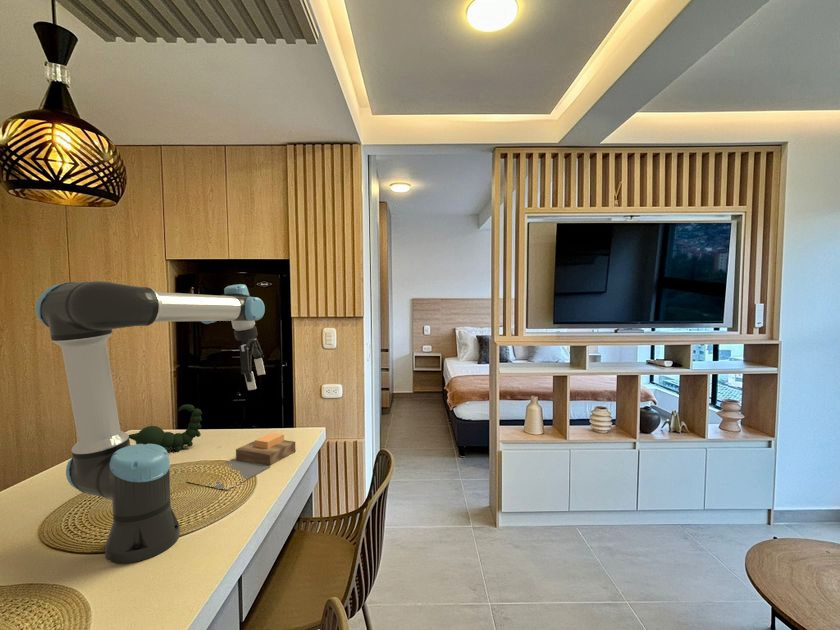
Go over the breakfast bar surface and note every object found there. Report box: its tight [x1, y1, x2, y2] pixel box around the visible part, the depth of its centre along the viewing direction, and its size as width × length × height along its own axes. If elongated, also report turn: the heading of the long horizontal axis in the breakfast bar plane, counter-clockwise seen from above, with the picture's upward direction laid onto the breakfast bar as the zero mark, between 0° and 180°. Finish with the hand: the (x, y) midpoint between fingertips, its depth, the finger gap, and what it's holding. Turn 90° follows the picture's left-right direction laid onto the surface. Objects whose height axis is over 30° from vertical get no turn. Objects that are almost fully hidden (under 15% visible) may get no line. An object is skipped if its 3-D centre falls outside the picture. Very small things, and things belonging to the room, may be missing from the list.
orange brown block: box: [254, 432, 285, 449], centre depth 157 cm, size 9×6×2 cm, turn 158°
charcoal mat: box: [209, 459, 271, 491], centre depth 139 cm, size 19×18×1 cm
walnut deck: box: [235, 439, 297, 467], centre depth 155 cm, size 14×16×4 cm
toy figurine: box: [128, 403, 203, 452], centre depth 161 cm, size 9×19×25 cm
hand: (257, 381), depth 152 cm, fingers open, 13 cm apart
